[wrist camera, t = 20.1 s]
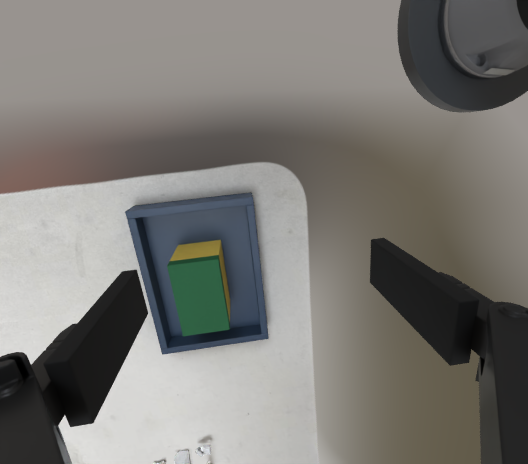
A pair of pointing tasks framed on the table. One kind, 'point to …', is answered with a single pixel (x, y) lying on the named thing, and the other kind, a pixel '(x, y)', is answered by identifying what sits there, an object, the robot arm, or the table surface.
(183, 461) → the miniature set
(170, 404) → the table surface
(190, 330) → the sponge
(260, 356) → the table surface
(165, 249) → the tray
